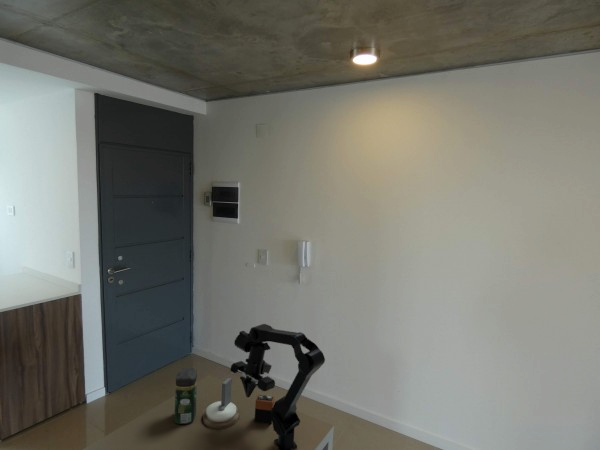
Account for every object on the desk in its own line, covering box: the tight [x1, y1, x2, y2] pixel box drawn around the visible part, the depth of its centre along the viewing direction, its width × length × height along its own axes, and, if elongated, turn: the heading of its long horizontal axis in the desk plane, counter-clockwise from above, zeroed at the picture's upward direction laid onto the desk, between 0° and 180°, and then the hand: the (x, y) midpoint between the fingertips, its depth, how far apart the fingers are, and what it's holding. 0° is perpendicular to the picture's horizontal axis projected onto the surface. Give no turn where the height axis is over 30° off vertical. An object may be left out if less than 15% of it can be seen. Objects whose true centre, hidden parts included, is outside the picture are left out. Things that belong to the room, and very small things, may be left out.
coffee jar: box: [173, 367, 198, 425], centre depth 137 cm, size 10×8×19 cm
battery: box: [254, 394, 275, 425], centre depth 139 cm, size 4×7×10 cm, turn 84°
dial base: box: [202, 407, 240, 430], centre depth 139 cm, size 14×14×2 cm
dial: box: [205, 377, 237, 422], centre depth 139 cm, size 12×12×12 cm
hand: (247, 396), depth 135 cm, fingers closed
